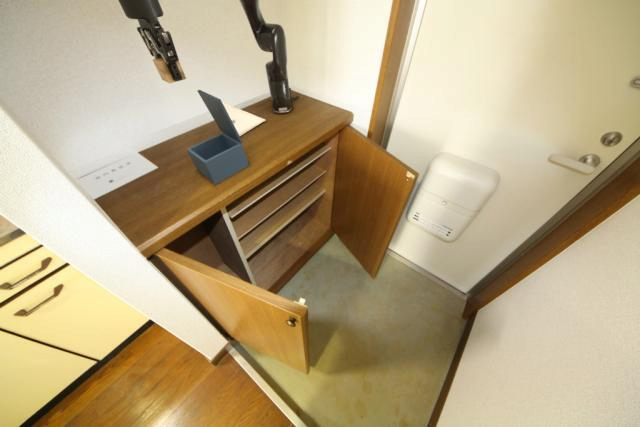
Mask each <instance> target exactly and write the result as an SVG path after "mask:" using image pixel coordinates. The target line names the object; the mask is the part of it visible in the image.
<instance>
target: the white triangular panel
mask: <svg viewBox="0 0 640 427" xmlns="http://www.w3.org/2000/svg"><path fill="white" fill-rule="evenodd" d="M222 103H223V105H224V107H225V109H226V111H227V113H228V115H229V117H230V119H231V120H232V122H233V124H234V126H235V128H236V130H237V132H238V134H239V136H240V137H241V136H243V135H244V134H246V133H248V132H250V131H251V130H253V129H255V128H256V127H257V126H259V125H260V124H262V123H265V122H266V120H267V119H265V118H263V117H260V116H258V115H255V114H254V113H250V112H248V111H245V110H243V109H241V108H238V107H236V106H234V105H232V104H231V105H230V104H228V103H225V102H223V101H222Z"/></svg>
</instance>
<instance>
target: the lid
mask: <svg viewBox="0 0 640 427" xmlns="http://www.w3.org/2000/svg"><path fill="white" fill-rule="evenodd" d="M197 93H198V94H199V96H200V99H201V100H202V102H203V104H204V105H205V107H206V108H207V111H208V112H209V114H210V115H211V118H213V121H214V122H215V124H216V125H217V127H218V129H219V131H220V132H221V133H224V134H226V135H228V136H229V137H231V138H233V139H235V140H236V141H238V142H240V143H242V144H243V140H242V138H241V136H239V134H238V132H237V130H236V128H235V126H234V124H233V122H232V120H231V119H230V117H229V115H228V113H227V111H226V109H225V107H224V105H223V103H224V102H223V101H222V99H220V98H219V97H216V96H214V95H212V94H211V93H208V92H206V91H203V90H201V89H198V90H197ZM222 102H223V103H222Z"/></svg>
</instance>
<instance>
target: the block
mask: <svg viewBox="0 0 640 427" xmlns="http://www.w3.org/2000/svg"><path fill="white" fill-rule="evenodd" d="M152 62H153V64H154V66H155V68H156V70H157V73H158V75H159V76H160V78H161V80H162V81H164V82H166V83H168V84H173V83H176V82H177V83H178V82H181V81H184V80H187V77H186V74H185V72H184V69H183V67H182V64H181V62H180V60H179V61H177V63H176V64H177V66H178V69H179V71H180V73H181V76H182V80H179V81H174V80H173V78H172V76H171V74H170V72H169V70H168V67H167V65H166V63H165V62H164V60H163V58H158V59H155V58H153V59H152Z"/></svg>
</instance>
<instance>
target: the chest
mask: <svg viewBox="0 0 640 427" xmlns="http://www.w3.org/2000/svg"><path fill="white" fill-rule="evenodd" d="M185 150H186V151H187V153H188V155H189V157H190V159H191V160H192V162H193V165H194V166H195V168H196V170H197V172H199V173H200V174H201V175H203V176H204V177H205V178H207V179H208V180H209V181H210V182H212V183H213V184H214V185H216V186H217V185H218V184H219V183H221V182H223V181H225V180H227V179H228V178H230V177H231V176H232V177H233V175H235V174H237V173H238V172H240V171H242V170H244V169H246V168H248V167H249V166H250V164H249V160H248V158H247V155H246V151H245V148H244V146H243V142H242V143H240V142H238V141H236V140H235V139H233V138H231V137H229V136H228V135H226V134H224V133H222V132H221V133H219V134H217V135H214V136H211V137H210V138H208V139H205V140H203V141H201V142H199V143H197V144H194V145H192V146H189V147H187V148H186V149H185Z"/></svg>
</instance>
